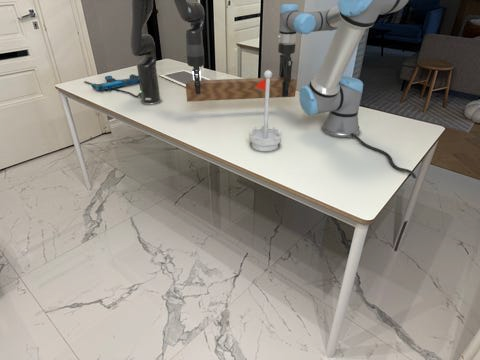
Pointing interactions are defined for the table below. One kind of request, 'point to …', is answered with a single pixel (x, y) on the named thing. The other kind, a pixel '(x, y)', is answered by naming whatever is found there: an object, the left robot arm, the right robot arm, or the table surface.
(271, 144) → the flag stand
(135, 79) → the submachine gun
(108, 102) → the table surface
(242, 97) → the beam
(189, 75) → the tablet
